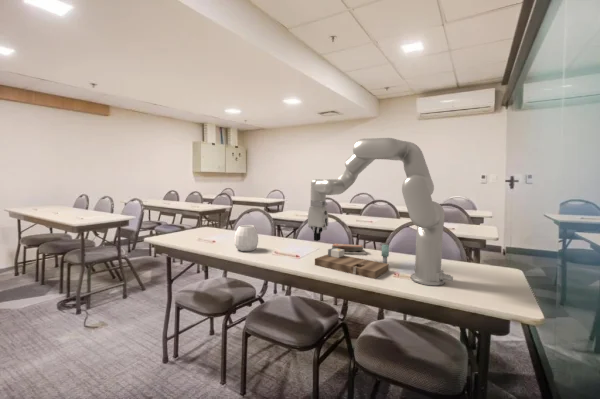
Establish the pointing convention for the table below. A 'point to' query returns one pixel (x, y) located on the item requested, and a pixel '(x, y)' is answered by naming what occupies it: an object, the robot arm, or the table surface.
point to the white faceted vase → (246, 238)
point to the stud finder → (336, 252)
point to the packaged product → (350, 249)
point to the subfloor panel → (353, 265)
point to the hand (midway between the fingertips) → (317, 240)
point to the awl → (385, 252)
